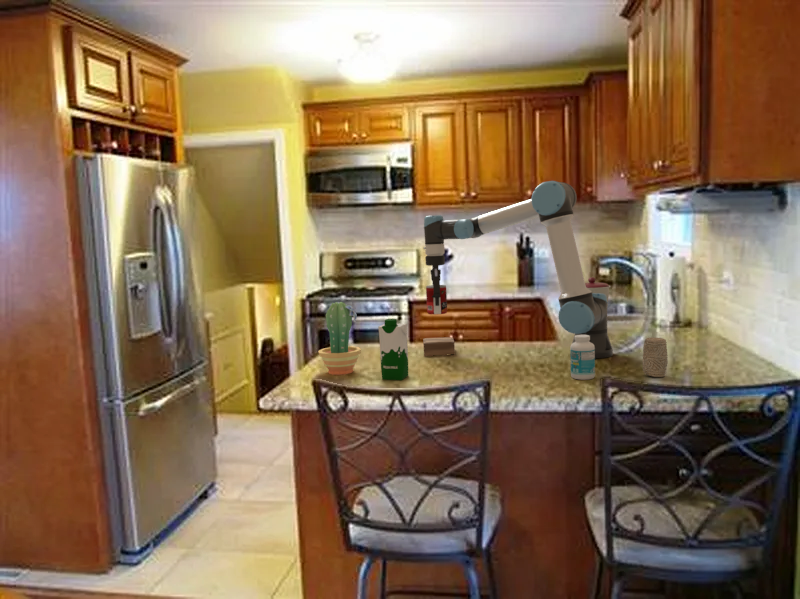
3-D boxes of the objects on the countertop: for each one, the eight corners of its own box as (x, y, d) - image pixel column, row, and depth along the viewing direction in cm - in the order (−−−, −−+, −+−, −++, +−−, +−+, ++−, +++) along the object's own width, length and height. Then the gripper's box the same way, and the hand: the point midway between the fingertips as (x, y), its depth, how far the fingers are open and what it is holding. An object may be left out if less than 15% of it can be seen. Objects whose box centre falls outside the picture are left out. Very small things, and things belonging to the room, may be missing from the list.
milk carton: (378, 380, 221) (375, 320, 219) (387, 374, 229) (385, 317, 227) (403, 381, 218) (400, 320, 216) (412, 375, 226) (409, 317, 224)
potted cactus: (345, 378, 226) (341, 305, 224) (310, 374, 235) (305, 304, 232) (370, 369, 239) (367, 300, 237) (336, 366, 248) (332, 299, 245)
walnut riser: (454, 354, 259) (454, 341, 258) (424, 356, 259) (423, 343, 258) (453, 349, 271) (452, 336, 270) (423, 350, 271) (423, 338, 270)
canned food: (445, 314, 259) (444, 286, 257) (425, 314, 260) (424, 286, 259) (448, 311, 266) (447, 284, 265) (428, 312, 268) (427, 285, 267)
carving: (671, 377, 205) (671, 339, 204) (648, 379, 205) (647, 340, 203) (662, 373, 212) (661, 336, 210) (639, 374, 211) (638, 337, 210)
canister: (609, 320, 328) (609, 278, 326) (572, 320, 335) (571, 279, 333) (612, 315, 345) (611, 275, 343) (576, 315, 352) (575, 276, 349)
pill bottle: (567, 376, 214) (566, 334, 213) (590, 374, 215) (589, 333, 213) (575, 381, 207) (574, 338, 205) (598, 379, 207) (598, 336, 206)
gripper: (425, 254, 271) (427, 309, 273) (425, 256, 251) (428, 316, 253) (443, 253, 271) (445, 309, 273) (445, 255, 250) (447, 315, 253)
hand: (437, 312), depth 263 cm, fingers closed on canned food, 8 cm apart
